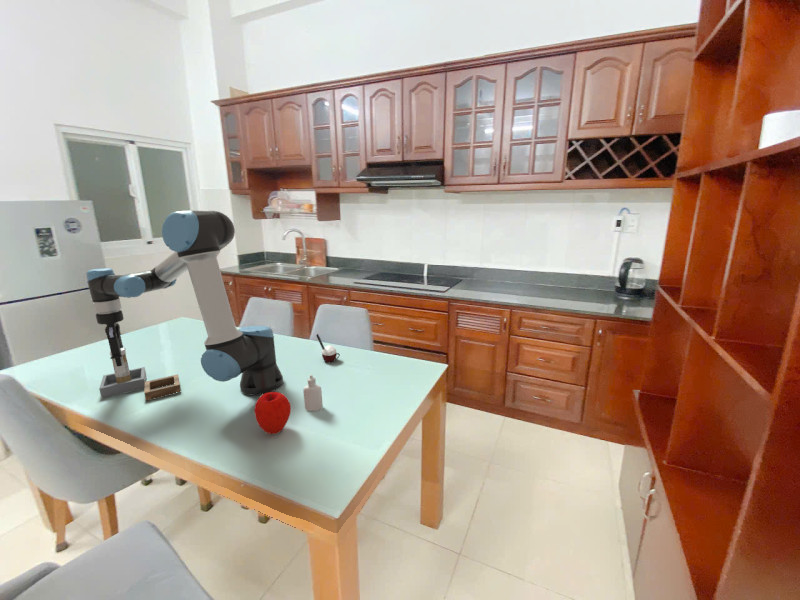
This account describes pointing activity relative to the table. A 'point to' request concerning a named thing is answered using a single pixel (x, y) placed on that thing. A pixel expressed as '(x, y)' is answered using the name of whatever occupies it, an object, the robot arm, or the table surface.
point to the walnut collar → (163, 390)
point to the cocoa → (328, 352)
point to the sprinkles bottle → (125, 376)
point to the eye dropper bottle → (312, 395)
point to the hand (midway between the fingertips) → (122, 370)
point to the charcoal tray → (112, 388)
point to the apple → (272, 412)
